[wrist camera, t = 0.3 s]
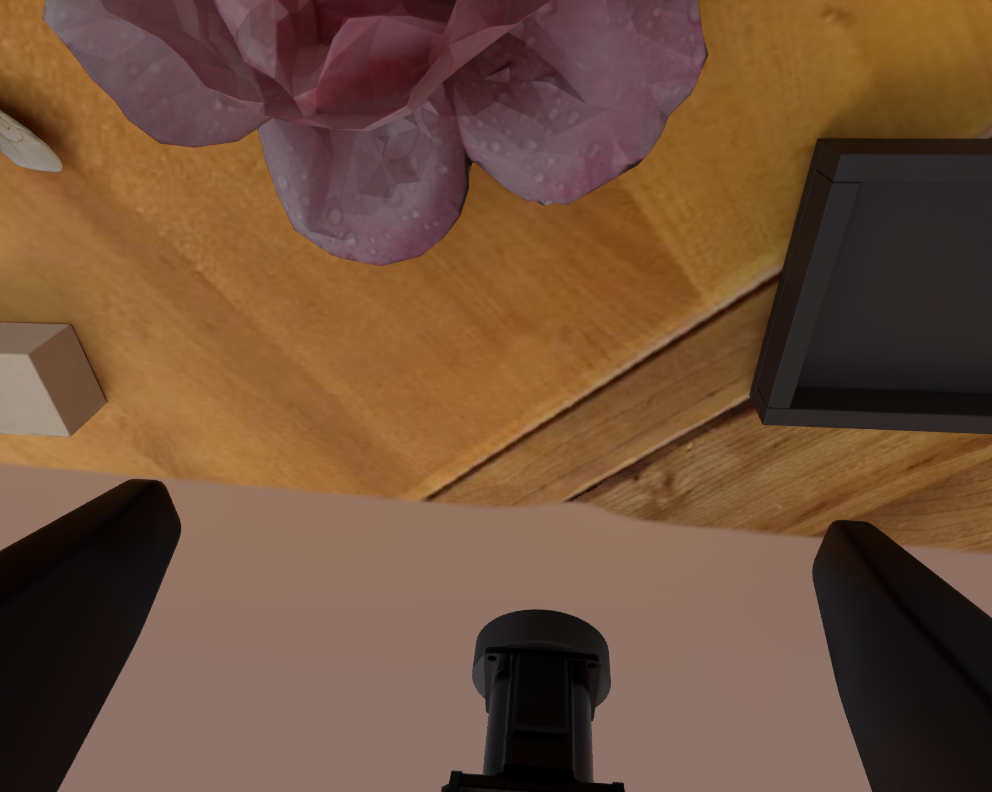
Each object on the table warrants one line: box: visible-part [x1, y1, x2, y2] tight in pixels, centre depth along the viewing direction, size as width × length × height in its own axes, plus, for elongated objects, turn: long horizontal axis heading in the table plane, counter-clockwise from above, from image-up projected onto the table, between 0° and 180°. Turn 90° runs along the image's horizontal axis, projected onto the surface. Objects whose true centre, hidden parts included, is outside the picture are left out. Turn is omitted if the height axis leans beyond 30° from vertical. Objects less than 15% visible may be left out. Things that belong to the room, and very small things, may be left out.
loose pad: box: [0, 322, 107, 437], centre depth 25 cm, size 4×4×2 cm
